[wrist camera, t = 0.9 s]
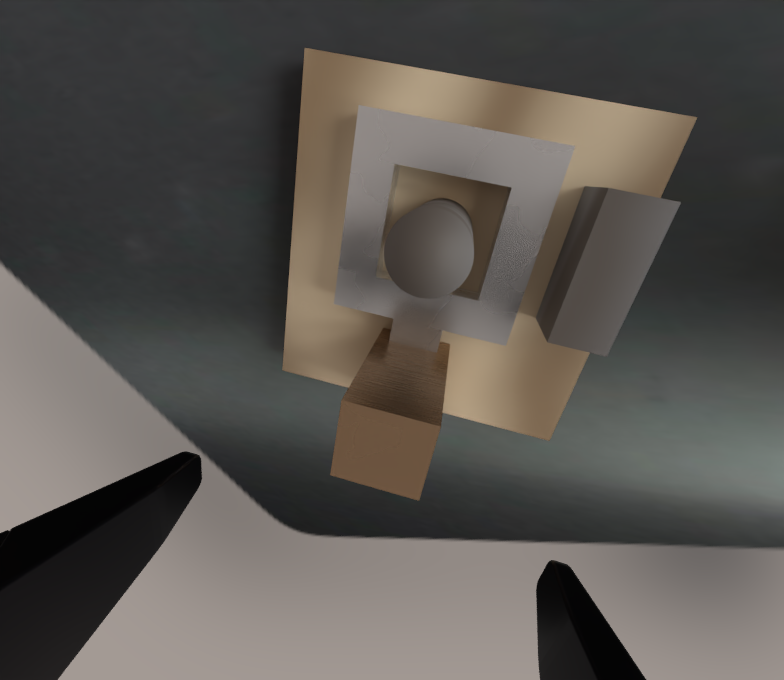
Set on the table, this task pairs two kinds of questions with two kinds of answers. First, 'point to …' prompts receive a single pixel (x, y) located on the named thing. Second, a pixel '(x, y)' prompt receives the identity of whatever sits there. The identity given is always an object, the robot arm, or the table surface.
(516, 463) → the table surface
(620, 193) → the maple peg board
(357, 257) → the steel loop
